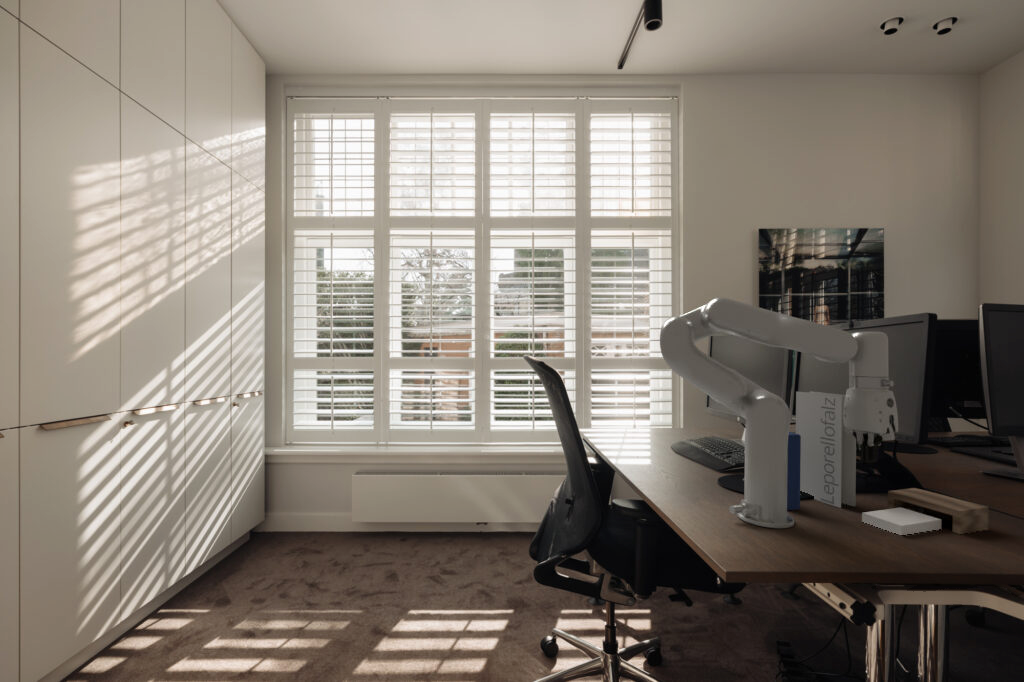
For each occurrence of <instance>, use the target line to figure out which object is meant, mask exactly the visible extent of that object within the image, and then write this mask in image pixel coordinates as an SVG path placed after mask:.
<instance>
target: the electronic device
mask: <svg viewBox="0 0 1024 682" xmlns="http://www.w3.org/2000/svg"><path fill="white" fill-rule="evenodd" d="M800 464H801V436H800V435H799V434H796V432H791V431H789V436H788V473H787V511H797V510H798V511H799V510H800V508H801V494H800Z"/></svg>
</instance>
